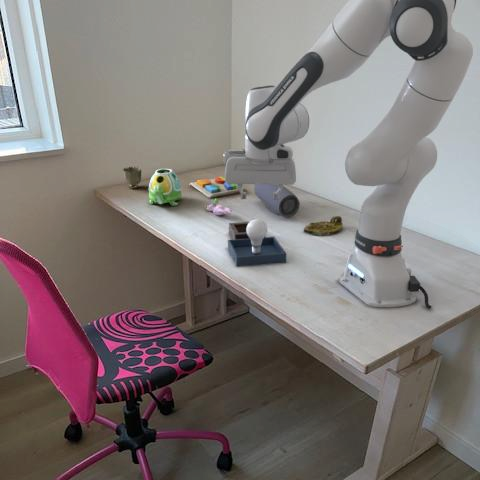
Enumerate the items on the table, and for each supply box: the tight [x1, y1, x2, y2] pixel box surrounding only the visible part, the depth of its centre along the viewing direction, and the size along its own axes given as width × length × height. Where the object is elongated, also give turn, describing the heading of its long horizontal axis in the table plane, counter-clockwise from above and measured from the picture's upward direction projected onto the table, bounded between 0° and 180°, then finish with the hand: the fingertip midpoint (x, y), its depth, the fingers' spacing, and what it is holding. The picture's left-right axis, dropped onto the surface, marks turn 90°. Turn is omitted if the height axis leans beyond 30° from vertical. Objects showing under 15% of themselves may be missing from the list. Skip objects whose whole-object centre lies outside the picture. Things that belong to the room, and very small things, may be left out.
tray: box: [227, 236, 287, 267], centre depth 155 cm, size 13×15×3 cm
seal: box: [303, 215, 344, 236], centre depth 173 cm, size 9×5×15 cm
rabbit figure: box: [205, 197, 232, 216], centre depth 184 cm, size 6×6×15 cm
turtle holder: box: [148, 168, 182, 207], centre depth 191 cm, size 12×18×12 cm
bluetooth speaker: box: [253, 184, 301, 218], centre depth 188 cm, size 23×9×10 cm, turn 22°
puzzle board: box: [188, 176, 247, 199], centre depth 209 cm, size 18×19×3 cm
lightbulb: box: [246, 218, 268, 254], centre depth 153 cm, size 6×6×11 cm
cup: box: [122, 166, 142, 190], centre depth 208 cm, size 8×7×8 cm
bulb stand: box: [228, 221, 250, 240], centre depth 166 cm, size 10×10×4 cm
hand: (259, 198), depth 146 cm, fingers open, 8 cm apart
